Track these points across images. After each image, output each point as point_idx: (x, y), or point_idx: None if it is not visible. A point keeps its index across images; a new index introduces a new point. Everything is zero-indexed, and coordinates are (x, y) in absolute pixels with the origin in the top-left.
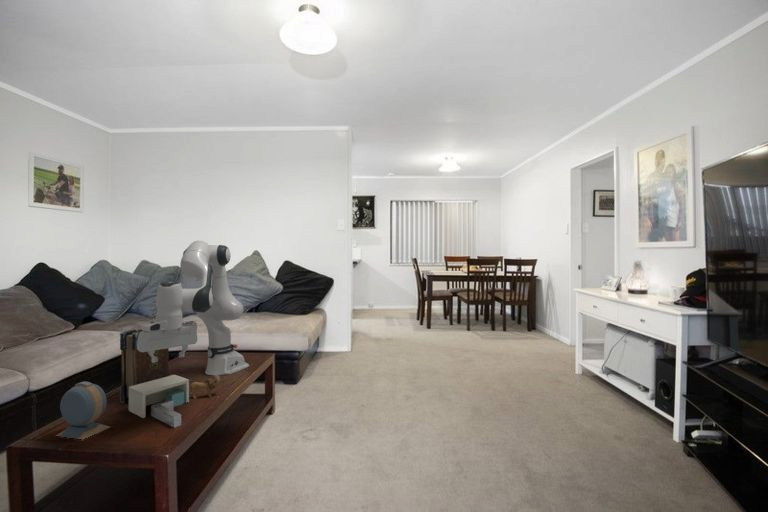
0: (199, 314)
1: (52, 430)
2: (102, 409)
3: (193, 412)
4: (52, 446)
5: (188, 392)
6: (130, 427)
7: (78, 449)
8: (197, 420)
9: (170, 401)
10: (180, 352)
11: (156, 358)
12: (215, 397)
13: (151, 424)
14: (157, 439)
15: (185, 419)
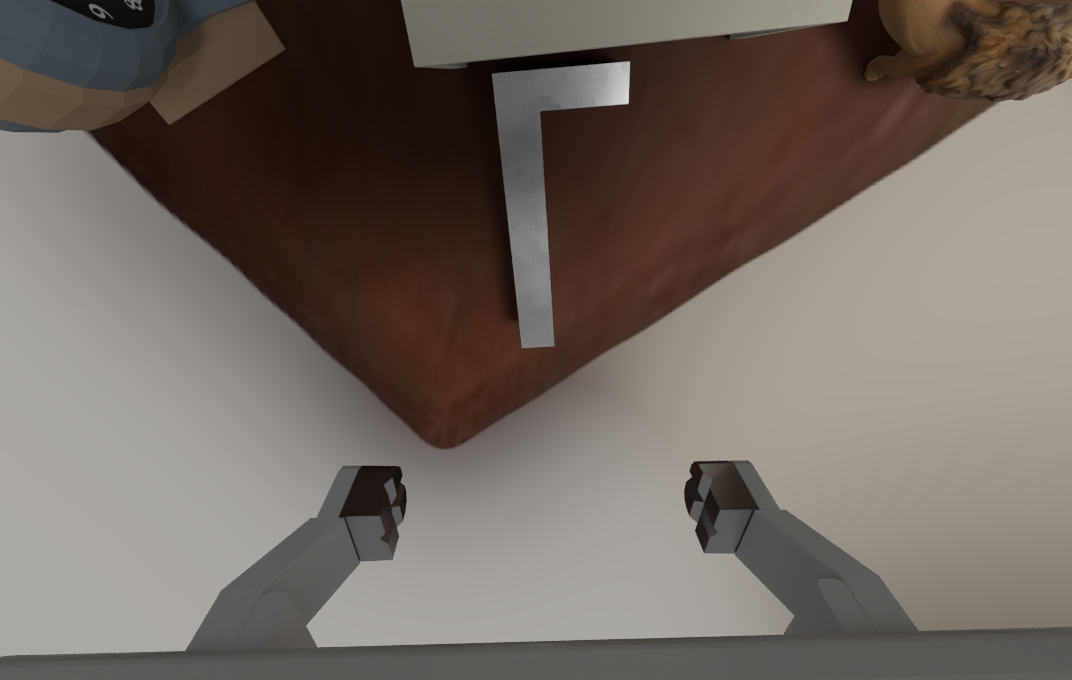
0: None
1: None
2: (154, 80)
3: (657, 233)
4: None
5: (776, 32)
6: (378, 158)
7: (177, 218)
8: (615, 329)
9: (607, 105)
10: (738, 517)
11: (379, 547)
12: (874, 112)
13: (465, 209)
14: (446, 364)
15: (591, 281)
